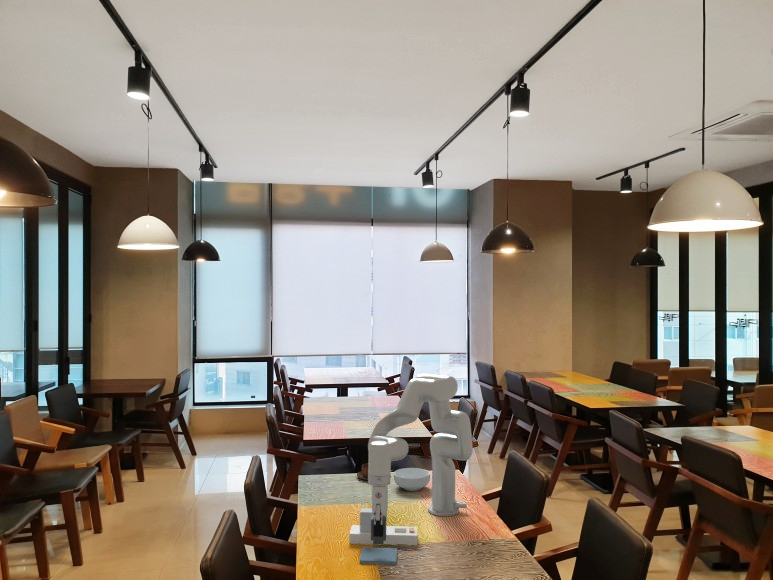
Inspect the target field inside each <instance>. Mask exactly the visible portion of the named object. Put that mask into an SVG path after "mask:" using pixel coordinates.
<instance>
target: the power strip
mask: <svg viewBox="0 0 773 580" xmlns="http://www.w3.org/2000/svg"><path fill="white" fill-rule="evenodd" d="M358 543H361V544H360V545H374V544H373V540H371V532H360V524H351V527H350V531H349V544H352V545H359V544H358ZM383 544H409V545H408V546H411V545H417V546H418V526H407V525H406V526H402V525H401V526H400V525H399V526H397V525H386V541H384V543H383Z"/></svg>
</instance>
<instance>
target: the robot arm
mask: <svg viewBox="0 0 773 580" xmlns="http://www.w3.org/2000/svg"><path fill="white" fill-rule="evenodd" d="M458 387H459V385H458V382H457V379H456V378H455V377H453V376H450V375H441V374H434V373H420V374H417V375H416V376H415V377H414V378H411V379H409V381H408V382H407V384H406V385H405V388H404V390H403V392H402V394H401V397H400V400H399V402H398V403H397V404H396V405H397V406H396V407H395V408H394V410H392V411H391V412H389V413H387V414H386V415H384V416H383V417H382V418H381V419H380V420H378V422H377V423H376V424H375V426H374V428H373V429H372V432H371V435H370V436H369V439H368V443H367V449H368V450H367V451H368V463H369V464H368V480H367V481H368V482H367V484H368V485H370V486H371V508H372V515H373V516H374V537H383V516H388V509H389V507H388V505H389V503H388V502H389V498H388V497H389V496H388V495H389V491H388V489H389V488H388V487H389V486H390V485H391V473H392V471H391V469H392V468H391V467H392V466H391V465H392V463H391V462H395V461H401V460H403V459H405V457H406V456H407V455H408V453H409V444H408V442H407V441H406V439H404V438H401V437H396V436H390V435H387V434H389V433H391V432H392V431H393V430H394V429H397V428H400V427H403V426H405V425H409V424H412V423H415V422H416V421H417V420H418V418H419V415H420V412H421V411H422V408H423V406H424V403H427V402H428V409H429V416H430V424H431V428H432V429H433V431H435V434H433V435H432V436H431V438H430V441H429V450H430V454H431V467H432V468H431V469H432V470H431V475H432V476H431V504H430V505H428V507H427V511H428V512H429V513H430V514H432V515H434V516H438V517H452V516H456V515H457V514H459V513H460V508H461V509H467V508H468V506H467V503H465V502H464V501H457V499H456V465H455V463H454V461H453V460H457V461H469V459H470V458H471V457H472V454H473V448H474V447H473V438H472V437H473V436H472V427H471V426H472V425H471V419H470V417H469V415H468V414H467V413H466V411H465V412H464V411H461V410H455V409H452V408H451V403H450V399H452V398H454V397H455V396H456V394H457V392H458V390H459V389H458ZM380 517H381V518H380Z"/></svg>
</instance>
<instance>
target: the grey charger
mask: <svg viewBox="0 0 773 580" xmlns="http://www.w3.org/2000/svg"><path fill="white" fill-rule="evenodd" d="M371 517H372V507H371V508H370V507H369V508H368V507H367V508H366V507H361V508H360V511H359V525H360V532H371Z"/></svg>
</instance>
